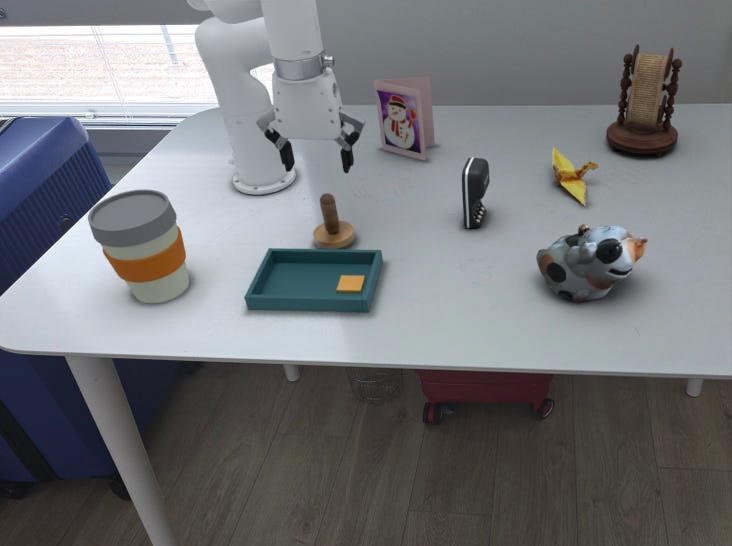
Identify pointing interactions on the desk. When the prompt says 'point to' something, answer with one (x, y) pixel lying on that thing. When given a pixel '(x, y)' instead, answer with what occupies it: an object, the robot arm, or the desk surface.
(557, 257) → the lucky cat figurine
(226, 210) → the desk surface
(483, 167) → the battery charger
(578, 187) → the origami crane
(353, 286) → the orange flat square block
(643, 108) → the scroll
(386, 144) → the greeting card
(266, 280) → the tray
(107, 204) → the reusable coffee cup
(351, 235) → the stamp
